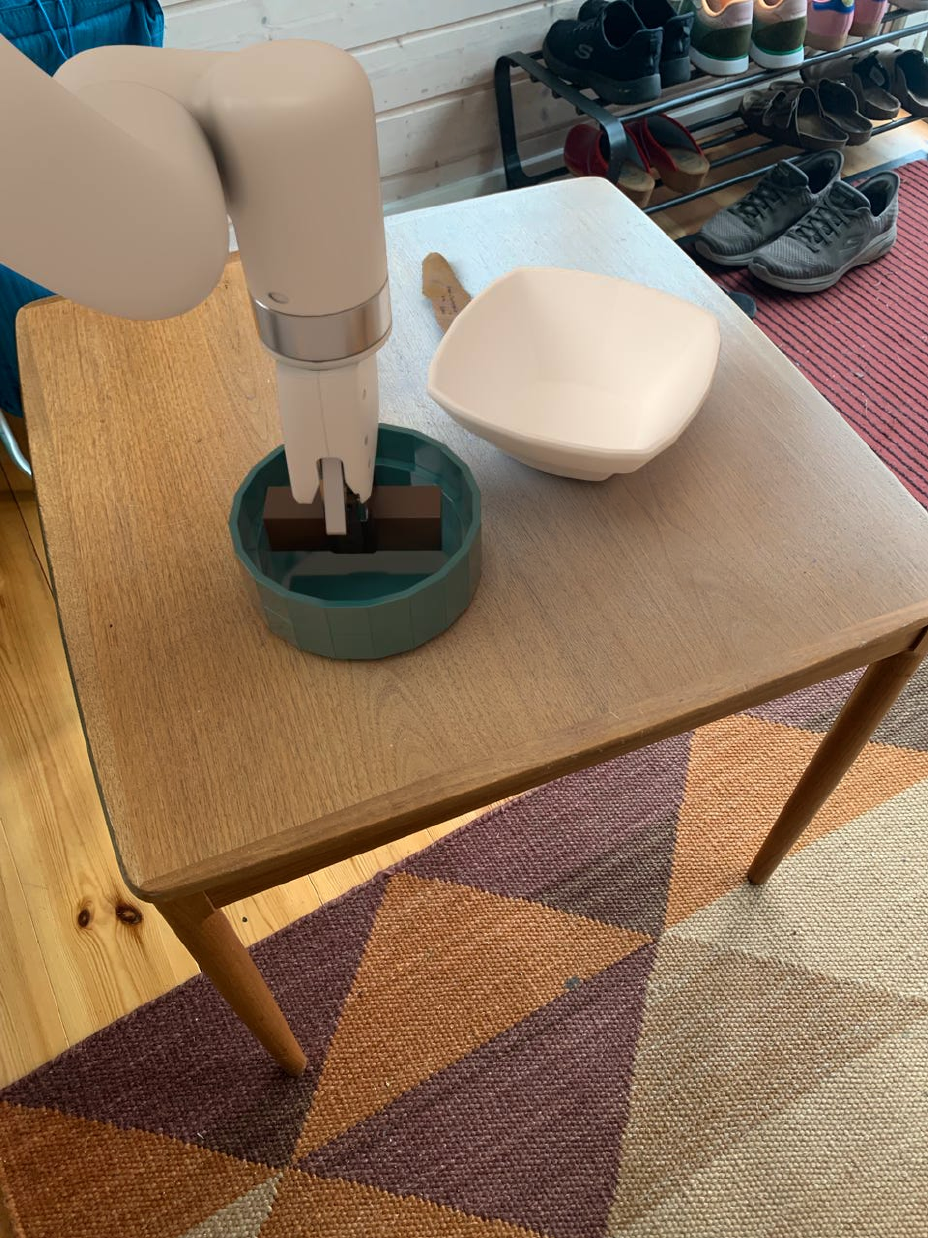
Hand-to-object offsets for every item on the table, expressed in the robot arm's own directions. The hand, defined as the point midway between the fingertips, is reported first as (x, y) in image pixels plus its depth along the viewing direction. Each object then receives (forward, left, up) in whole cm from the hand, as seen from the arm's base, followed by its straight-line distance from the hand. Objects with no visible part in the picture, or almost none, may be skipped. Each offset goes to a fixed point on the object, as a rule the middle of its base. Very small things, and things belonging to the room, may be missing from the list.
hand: (355, 528), depth 65 cm
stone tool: (+6, +32, -5) cm, 33 cm away
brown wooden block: (0, 0, -1) cm, 1 cm away
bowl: (+16, +14, -5) cm, 22 cm away
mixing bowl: (0, 0, -4) cm, 4 cm away
